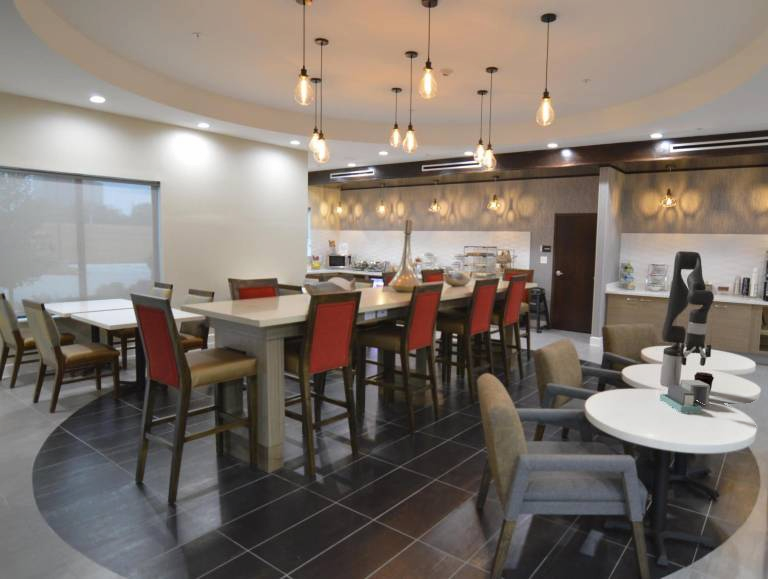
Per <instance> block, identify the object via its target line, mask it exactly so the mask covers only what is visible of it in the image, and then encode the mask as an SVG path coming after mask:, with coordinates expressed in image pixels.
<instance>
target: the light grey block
mask: <svg viewBox="0 0 768 579" xmlns="http://www.w3.org/2000/svg"><path fill="white" fill-rule="evenodd" d="M680 386H681V387H683V388H685V389H687V390H689V391H691V392H693V393H695V396H694V400H698V401H699V402H701V403H703V404H705V405H708V406H709V400H710V394H709V391H710V385H708V384H706V383H704V382H702V381H700V380H695V379H680ZM710 392H711V391H710ZM699 402H698V403H699ZM701 403H700V404H701Z"/></svg>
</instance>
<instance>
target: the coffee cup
mask: <svg viewBox="0 0 768 579" xmlns="http://www.w3.org/2000/svg"><path fill="white" fill-rule="evenodd" d="M713 375H714V374H712V373H710V372H704V371H702V372H701V371H700V372H698V371H697V372H696V373H695V374H694V380H700V381H702V382H704V383H706V384H708V385H710V391H709V395H710V394H711V390H712V386H713V381H714V379H715V377H714V376H713Z"/></svg>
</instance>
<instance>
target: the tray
mask: <svg viewBox="0 0 768 579" xmlns="http://www.w3.org/2000/svg"><path fill="white" fill-rule="evenodd" d="M659 394H660V395H659V400H660V399H661V400H662V401H664V402H666V403H667V404H669V405H670V406H672V407H673V408H672V407H671V408H672V409H674V408H675V409H676V411H677V410H678V411H677V412H679V413H680V412H692V413H691V414H702V406H700V405H699V404H697V403H695V402H694V406H682V405H680V404H678V403H676V402H675V401H673V400H671V399H670V398H668V397H667V395H668V393H659ZM661 400H660V401H661ZM662 401H661V402H662ZM664 402H663V403H664ZM667 404H666V405H667ZM669 405H668V406H669ZM670 406H669V407H670ZM675 409H674V410H675Z"/></svg>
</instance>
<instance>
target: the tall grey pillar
mask: <svg viewBox="0 0 768 579" xmlns="http://www.w3.org/2000/svg"><path fill="white" fill-rule="evenodd" d="M667 394H668V395H667V397H668V398H670V399H671V400H673V401H675V402H676V403H678V404H680V405H682V406H694V403H695V401H694V396H695V393H693V392H691V391H689V390H687V389H685V388H683V387H681V386H679V385H668V387H667Z"/></svg>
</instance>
